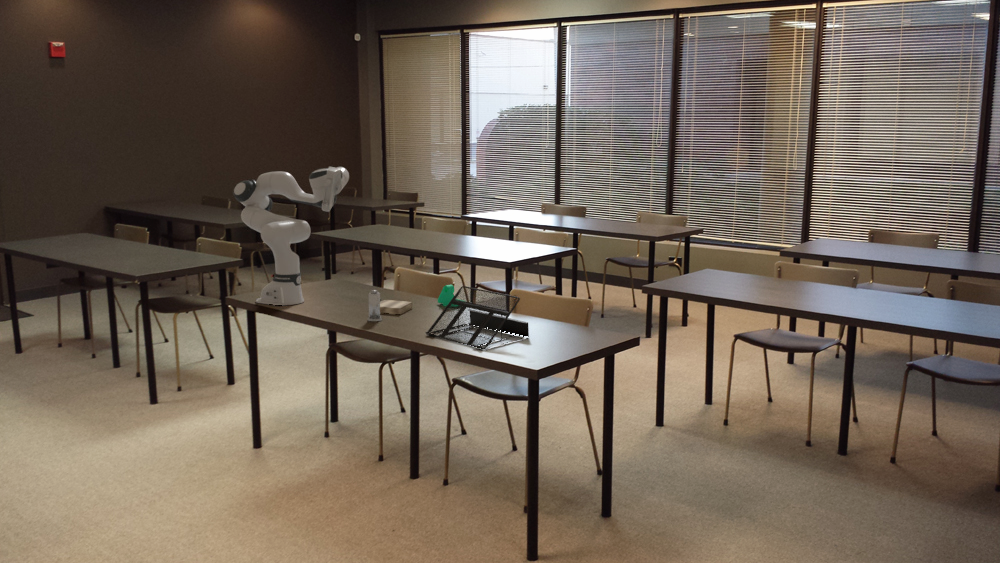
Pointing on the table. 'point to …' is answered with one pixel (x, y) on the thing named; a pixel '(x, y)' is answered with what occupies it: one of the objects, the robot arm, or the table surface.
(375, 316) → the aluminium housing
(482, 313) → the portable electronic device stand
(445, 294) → the green toy figure
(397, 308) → the wooden stand
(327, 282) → the table surface
